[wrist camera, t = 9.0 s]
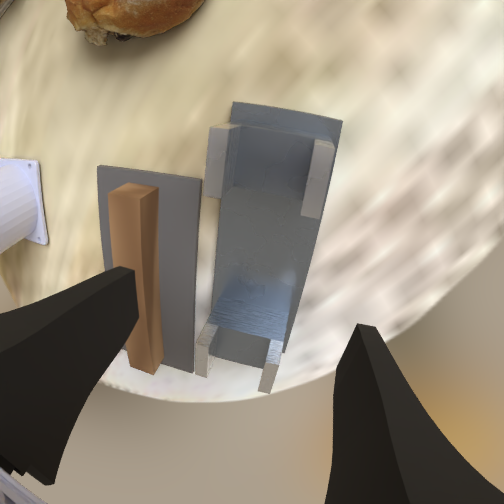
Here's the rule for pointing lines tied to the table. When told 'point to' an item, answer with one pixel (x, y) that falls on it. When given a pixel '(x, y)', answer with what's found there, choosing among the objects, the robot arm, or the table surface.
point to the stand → (263, 229)
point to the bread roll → (127, 17)
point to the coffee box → (4, 6)
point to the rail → (139, 266)
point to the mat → (165, 252)
